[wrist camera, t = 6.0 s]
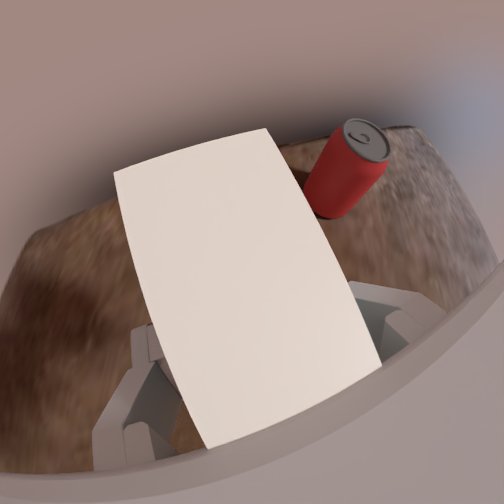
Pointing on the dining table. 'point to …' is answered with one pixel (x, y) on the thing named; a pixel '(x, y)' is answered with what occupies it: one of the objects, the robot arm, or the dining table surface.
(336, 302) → the card box
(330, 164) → the beer can
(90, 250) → the dining table surface
